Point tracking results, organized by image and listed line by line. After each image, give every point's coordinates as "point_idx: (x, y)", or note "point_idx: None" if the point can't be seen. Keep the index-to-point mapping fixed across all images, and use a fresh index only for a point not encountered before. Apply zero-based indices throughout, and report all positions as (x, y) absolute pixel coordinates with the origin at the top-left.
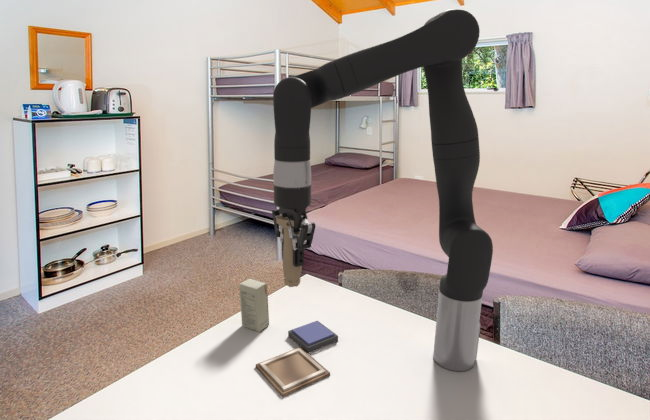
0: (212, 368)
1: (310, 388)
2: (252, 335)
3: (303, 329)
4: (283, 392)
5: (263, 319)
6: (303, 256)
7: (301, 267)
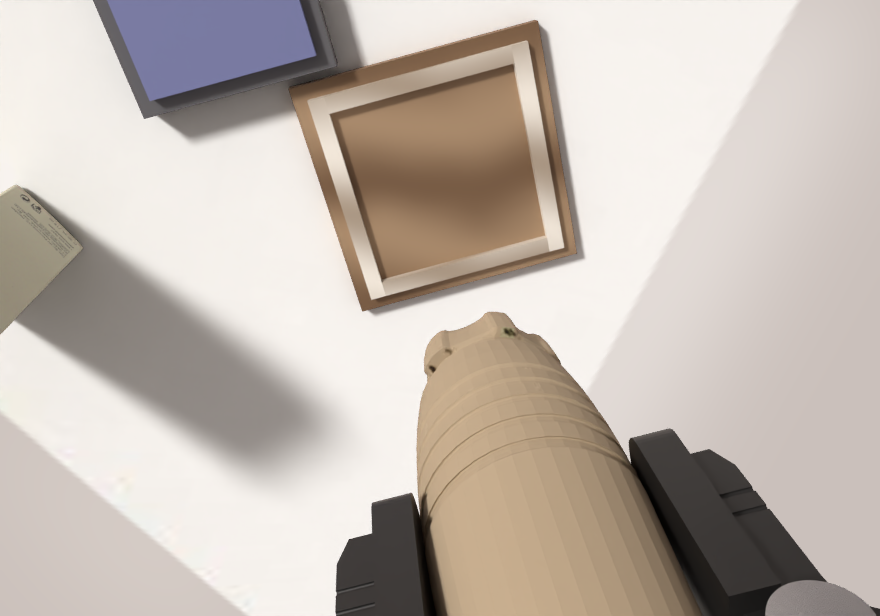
0: (320, 445)
1: (576, 136)
2: (108, 279)
3: (162, 35)
4: (570, 248)
5: (32, 238)
6: (776, 522)
7: (568, 391)
